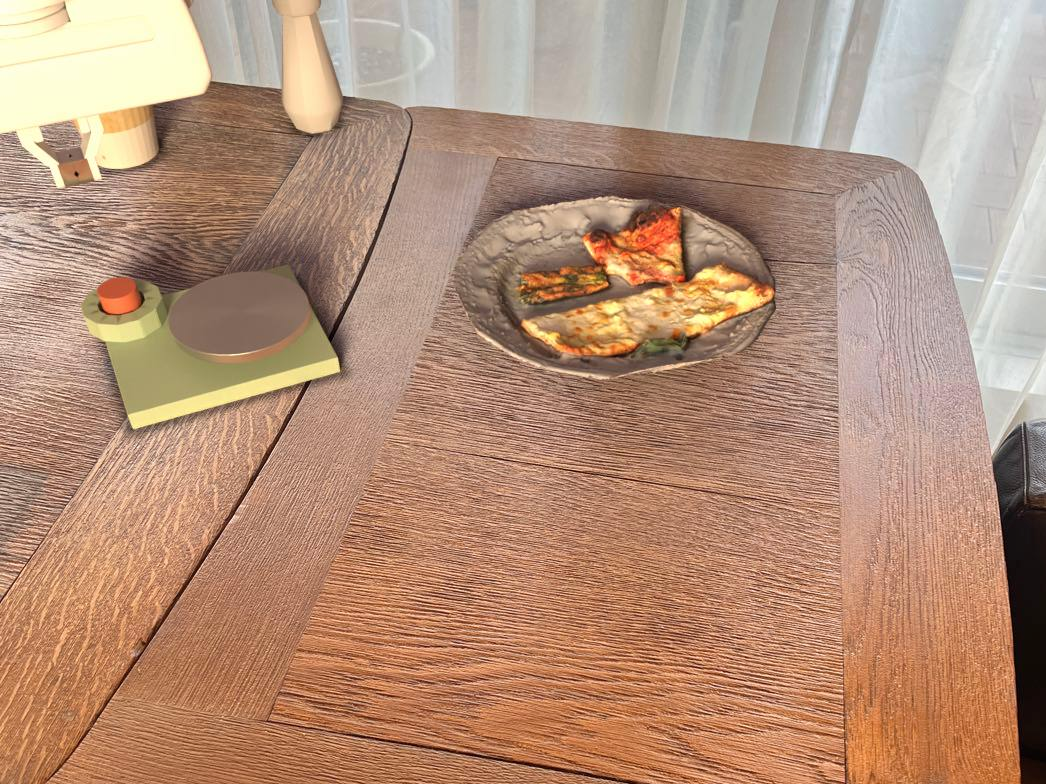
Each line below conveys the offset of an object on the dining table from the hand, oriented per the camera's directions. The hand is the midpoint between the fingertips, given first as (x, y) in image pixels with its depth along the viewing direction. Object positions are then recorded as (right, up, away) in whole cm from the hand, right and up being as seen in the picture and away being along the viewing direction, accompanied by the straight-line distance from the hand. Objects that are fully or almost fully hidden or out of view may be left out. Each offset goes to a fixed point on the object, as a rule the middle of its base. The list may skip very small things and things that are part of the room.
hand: (79, 180), depth 69 cm
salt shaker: (+9, +17, +32) cm, 37 cm away
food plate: (+37, -5, +13) cm, 39 cm away
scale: (+7, -10, +8) cm, 15 cm away
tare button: (0, -7, +8) cm, 10 cm away
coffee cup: (-8, +12, +28) cm, 32 cm away
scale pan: (+9, -8, +6) cm, 14 cm away
